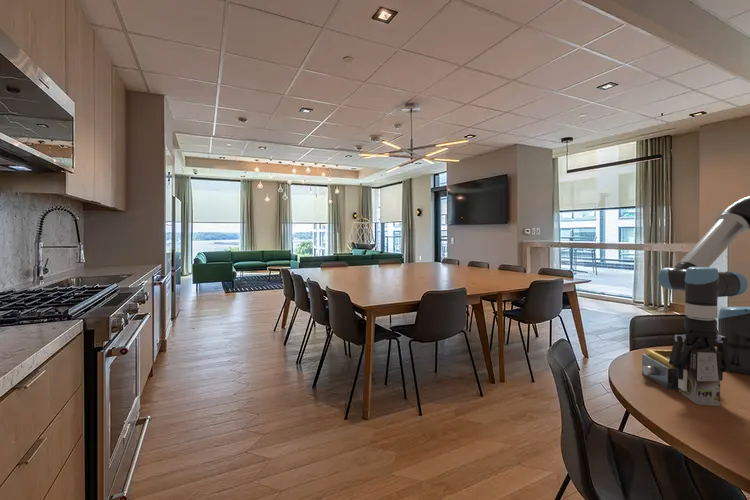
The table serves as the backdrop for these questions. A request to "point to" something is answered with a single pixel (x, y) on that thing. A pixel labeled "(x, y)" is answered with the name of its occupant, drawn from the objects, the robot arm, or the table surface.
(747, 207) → the robot arm
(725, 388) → the table surface
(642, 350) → the table surface
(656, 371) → the grey yellow box
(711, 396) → the coffee box
